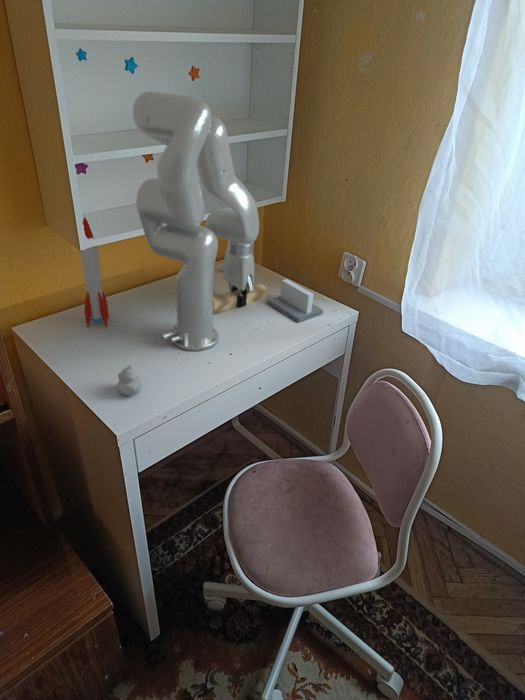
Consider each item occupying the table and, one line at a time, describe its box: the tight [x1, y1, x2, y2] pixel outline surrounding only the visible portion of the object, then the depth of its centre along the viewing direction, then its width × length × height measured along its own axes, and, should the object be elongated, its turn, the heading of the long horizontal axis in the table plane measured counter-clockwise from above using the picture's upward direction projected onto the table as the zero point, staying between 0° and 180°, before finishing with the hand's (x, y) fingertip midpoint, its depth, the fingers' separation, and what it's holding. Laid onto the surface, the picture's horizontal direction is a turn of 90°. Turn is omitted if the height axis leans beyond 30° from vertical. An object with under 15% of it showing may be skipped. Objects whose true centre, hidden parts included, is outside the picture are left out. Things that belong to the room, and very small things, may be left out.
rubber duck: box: [116, 364, 142, 396], centre depth 113 cm, size 5×7×8 cm
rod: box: [213, 283, 268, 315], centre depth 154 cm, size 20×3×4 cm, turn 129°
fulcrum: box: [267, 278, 324, 324], centre depth 152 cm, size 10×14×8 cm
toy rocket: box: [79, 217, 110, 328], centre depth 132 cm, size 6×6×30 cm
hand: (238, 303), depth 155 cm, fingers closed on rod, 2 cm apart
